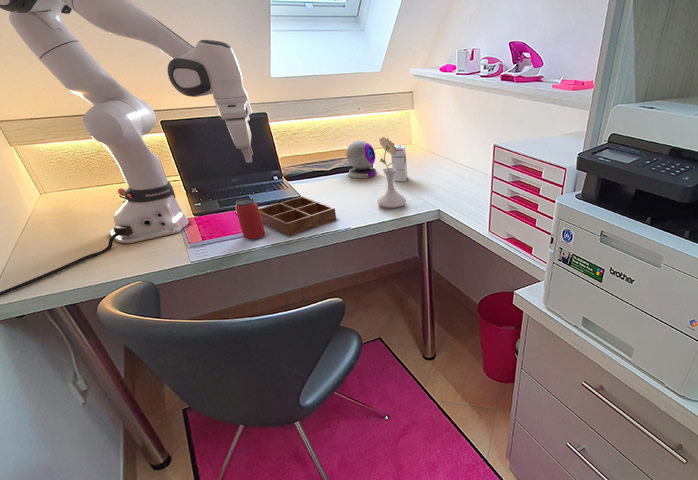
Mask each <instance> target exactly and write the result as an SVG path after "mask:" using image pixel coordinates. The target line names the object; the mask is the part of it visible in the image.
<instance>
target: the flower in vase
mask: <svg viewBox="0 0 698 480" xmlns="http://www.w3.org/2000/svg"><path fill="white" fill-rule="evenodd" d="M378 140H379V144H380V146H381V147H382V149H383V150H384V155H383V158H382V157H380V160H379V162H380V163H382V164H383V165H385V166H386V168H383V169H382V171H383V173H384V175H385V177H386V181H387V189H386V191H384V192H383V193H382V194H381V195H380V196H379V197H378V198H377V205H379V206H380V207H383V208H387V209H394V208H395V209H396V208H400V207H402V206H405V204H406V203H407V199H406V197H405V196H404V195H403V194H401V193H400V192H398V191H397V190H396V189H395V185H394V180H393V177H394V173H395V171H396V169H393V168H392V167H389V166H390V165H391V166H392V163H393V162H394V161H393V162H392V161H391V162H390V163H389V164H387V162H386V154H387V153H388V154H389V155H396V154H397V153H396V152H397V149H396V147H395V146H394V145H395V143H394V142H392V140H390V139H389V137H385V136H382V137H380V138H379V139H378Z"/></svg>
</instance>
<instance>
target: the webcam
mask: <svg viewBox="0 0 698 480" xmlns="http://www.w3.org/2000/svg"><path fill="white" fill-rule="evenodd" d="M346 160H347V162H348V163H349V165H350V166H351V167H352V168H350V169H349V171H348V175H349V176H350V177H352V178H356V179H368V178H371V177H373V176H375V175H376V173H377V169H376V168H374V167H373V165H374V164H375V162H376V152H375V149H374V147H373V146H372V144H370V143H369V142H368V141H365V140H361V139H360V140H359V139H358V140H355V141H353V142H351V143H350V144H349V145H348V146H347V149H346Z"/></svg>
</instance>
